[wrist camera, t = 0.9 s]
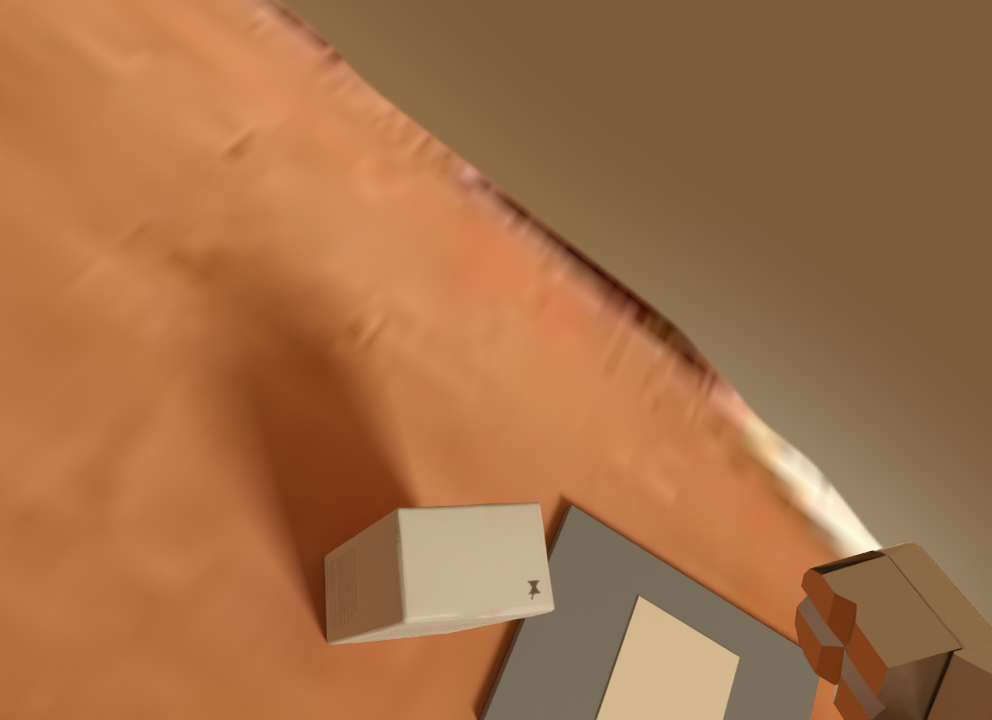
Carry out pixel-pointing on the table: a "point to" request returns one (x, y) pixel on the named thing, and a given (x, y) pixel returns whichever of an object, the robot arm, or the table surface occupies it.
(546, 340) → the table surface
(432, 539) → the skincare box
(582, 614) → the rubber mat
